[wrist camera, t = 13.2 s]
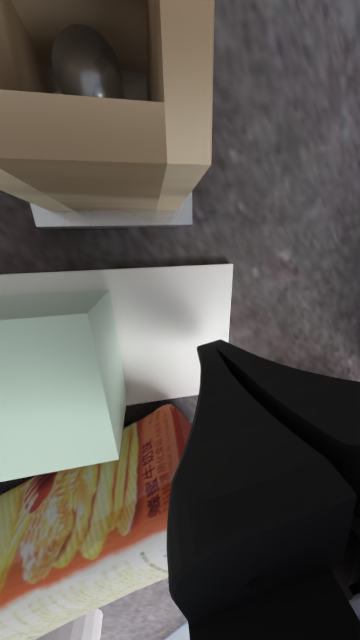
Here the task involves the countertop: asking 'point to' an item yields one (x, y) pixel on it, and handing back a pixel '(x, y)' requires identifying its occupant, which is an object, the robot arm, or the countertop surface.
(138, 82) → the pin plate
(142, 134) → the hollow square wooden block
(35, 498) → the snack package
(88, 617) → the toilet paper
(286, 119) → the countertop surface
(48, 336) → the cover
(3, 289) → the plate
